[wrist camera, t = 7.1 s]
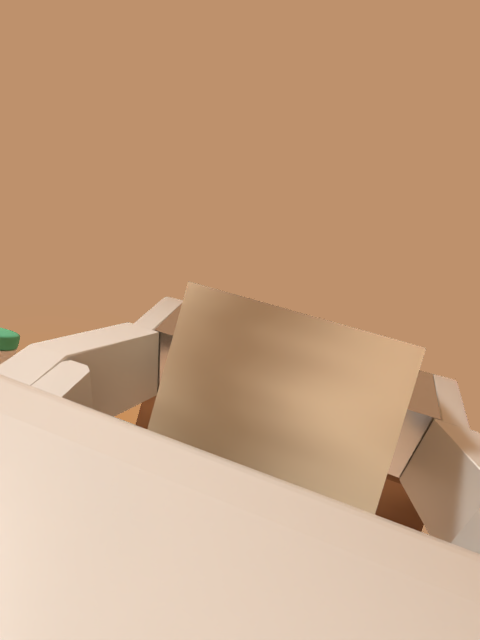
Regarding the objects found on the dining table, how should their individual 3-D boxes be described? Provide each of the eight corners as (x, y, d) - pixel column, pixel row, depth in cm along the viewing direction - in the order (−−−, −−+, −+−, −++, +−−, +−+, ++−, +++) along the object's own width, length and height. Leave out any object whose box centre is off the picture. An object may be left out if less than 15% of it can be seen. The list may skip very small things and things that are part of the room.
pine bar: (143, 443, 7) (188, 281, 7) (281, 352, 30) (291, 316, 30) (369, 531, 6) (425, 348, 6) (330, 367, 29) (341, 330, 29)
